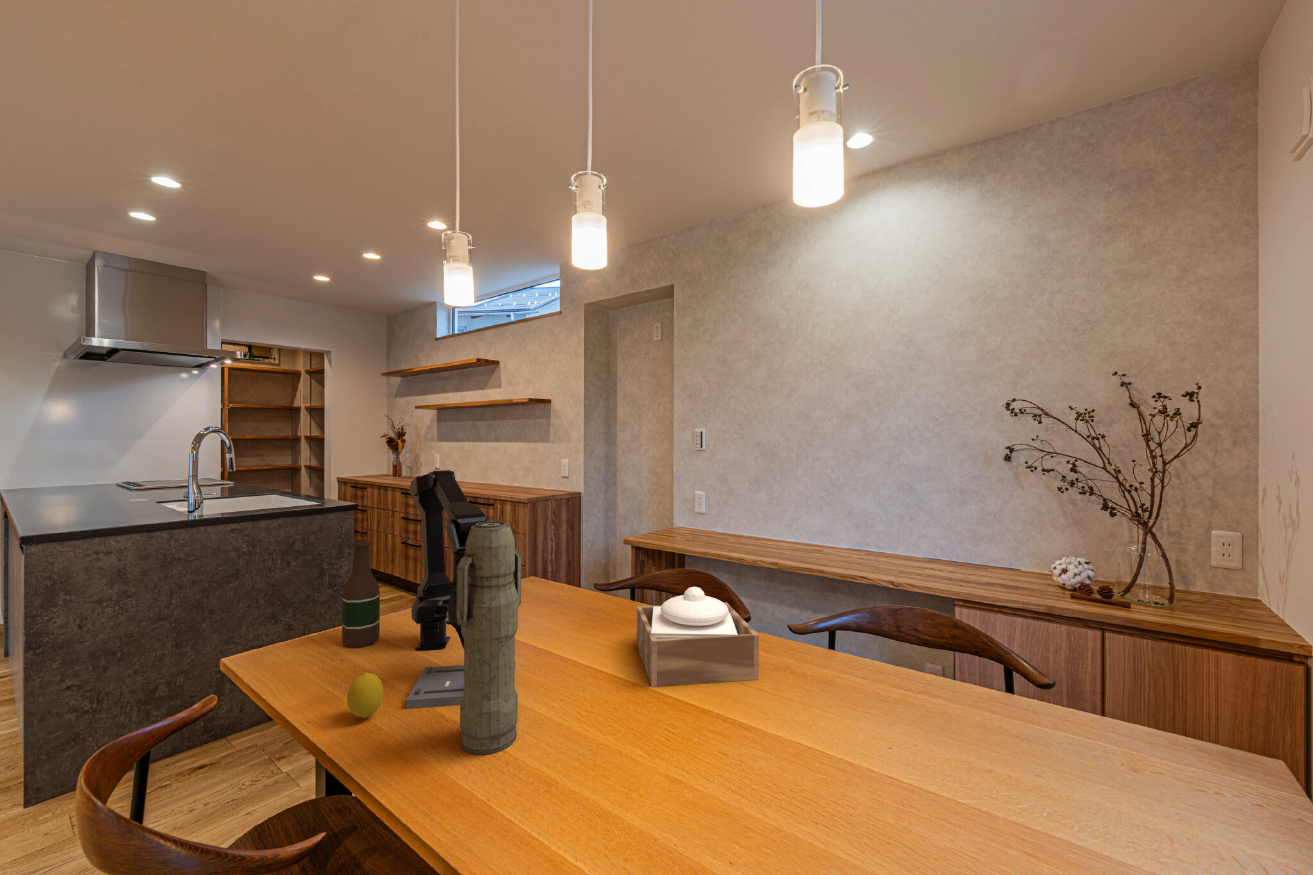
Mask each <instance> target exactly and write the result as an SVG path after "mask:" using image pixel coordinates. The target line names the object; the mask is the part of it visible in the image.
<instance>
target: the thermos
mask: <svg viewBox="0 0 1313 875" xmlns="http://www.w3.org/2000/svg"><path fill="white" fill-rule="evenodd" d="M521 604H522V555H521V553H520V551H519V550H518V549H516V541H515V537H514V533H513V530H512V527H511V525H510V524H508V523H507V522H503V521H494V520H493V521H492V520H491V521H489V522H481V523H477V524H476V525H474V526H472V527H471V529H470V532H469V535H468V538H467V541H466V555H464V557H463V558H461V560H460V562H459V564H458V566H457V599H456V612H457V625H460V626H461V633H462V636H463V638H464V649H463V651H464V652H463V665H464V694H463V697H462V700H461V702H460V705H459V706H460V707H459V729H460V732H461V738H460V745H461V749H462V750H464V752H466V753H470V754H472V755H479V756H480V755H481V756H483V755H491V754H496V753H499V752H502V751H504V750H506V749H508V748H509V747H510V746H512V745H513V744H514V743H515V741H517V724H518V721H519V720H518V718H519V714H518V713H519V695H518V692H517V689H516V687H515V686H516V685H515V681H516V680H515V678H516V677H515V673H516V669H515V662H516V661H515V660H516V658H515V657H516V635H517V631H518V629H519V607H520V606H521Z"/></svg>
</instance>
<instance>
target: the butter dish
mask: <svg viewBox="0 0 1313 875" xmlns="http://www.w3.org/2000/svg"><path fill="white" fill-rule="evenodd" d="M724 603H725V602H723V601H721V600H719V599H718V598H715V597H713V596H712V597H711V596H708V595H705V592H704V590H702V588H701V587H698V586H692V587H688V588H687V589H686V590H684V593H683V594H681V595H678V596H674V597H671V598H669V599H667V600H666V601H664V602H663V603H662V604H661V605H662V606H661V607H653V618H652V630H651V633H654V635H655V637H656V639H669V638H687V637H705V636H723V635H738V634H737V631H736V628H735V625H734V623H733V620H732V617H731V614H730V613H729V611H728V607H727V606H726V605H725V604H724Z"/></svg>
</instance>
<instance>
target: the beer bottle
mask: <svg viewBox="0 0 1313 875" xmlns="http://www.w3.org/2000/svg"><path fill="white" fill-rule="evenodd" d="M352 547H353V553H352V554H353V555H352V568H351V574H350V576H349V578H348V579H347V580H346V582H345V584H344V587H343V589H342V599H341V607H342V608H341V609H342V610H341V613H342V616H341V641H342V644H343V646H344V647H346V649H361V648H365V647H369V646H373V645H374V644H375V643H376V642H378V641H379V640H380V631H381V630H380V625H381V622H380V616H381V615H380V611H381V608H380V607H381V606H380V605H381V600H380V599H381V598H380V597H381V596H380V595H381V594H380V585H379V583H378V581H377V579H376V577H375V576H374V575H373V573H372V569H371V556H370V547H371V542H370V540H367V539H359V540H356V541H353V543H352Z"/></svg>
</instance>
